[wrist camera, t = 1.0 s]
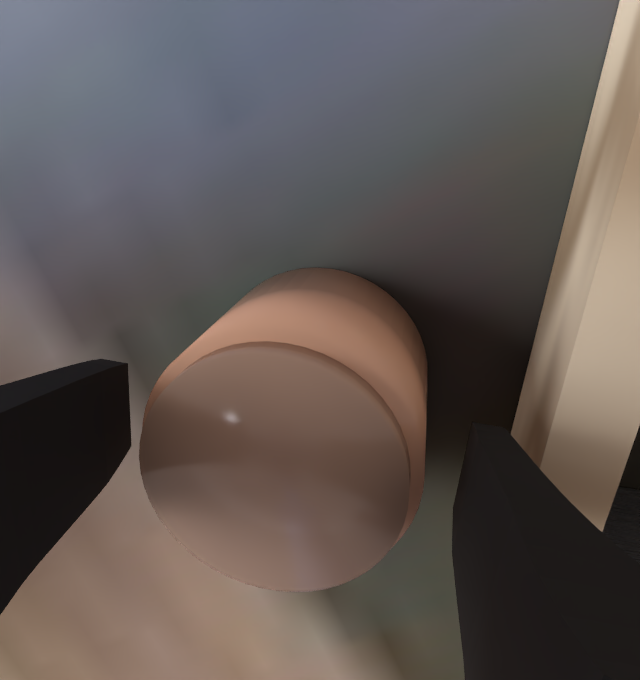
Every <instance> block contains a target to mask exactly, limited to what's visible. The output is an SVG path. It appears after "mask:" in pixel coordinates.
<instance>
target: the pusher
mask: <svg viewBox="0 0 640 680" xmlns="http://www.w3.org/2000/svg"><path fill="white" fill-rule="evenodd" d="M602 533H604V534H605V535H606V536H607V537H608V538H609V539H610V540H612V541H613V542H614V543H615V544H616V545H618V546H619V547H620V548H621V549H622V550H624V551H625V552H626V553H627V554H628V555H630V556H631V557H632V558H633V559H635V560H636V561H637V562H638V563H639V564H640V490H636V489H630V488H625V487H619V486H618V489H617V491H616V494H615V497H614V500H613V503H612V506H611V509H610V511H609V514H608V517H607V520H606V523H605V526H604V529H603V531H602Z"/></svg>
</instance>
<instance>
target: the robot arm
mask: <svg viewBox="0 0 640 680" xmlns="http://www.w3.org/2000/svg"><path fill="white" fill-rule="evenodd" d="M130 447H131V427H130V404H129V382H128V363H122V362H116V361H110V360H104V359H98V360H91V361H86V362H82V363H78V364H74V365H70V366H67V367H63V368H59V369H56V370H52V371H49V372H46V373H42V374H39V375H35V376H32V377H29V378H25V379H22V380H18V381H15V382H12V383H8V384H5V385H1V386H0V614H1V613H2V612H3V610H4V609H5V607H6V606H7V605H8V603H9V602H10V600H11V599H12V597H13V596H14V595H15V593H16V592H17V590H18V589H19V588H20V586H21V585H22V583H23V582H24V581H25V580H26V578H27V577H28V576H29V575H30V573H31V572H32V571H33V570H34V568H35V567H36V566H37V565H38V563H39V562H40V561H41V560H42V559H43V558H44V557H45V555H46V554H47V553H48V552H49V551H50V550H51V548H52V547H53V546H54V545H55V544H56V543H57V542H58V540H59V539H60V538H61V537H62V536H63V535H64V534H65V532H66V531H67V530H68V529H69V528H70V527H71V526H72V524H73V523H74V522H75V521H76V520H77V519H78V517H79V516H80V515H81V514H82V513H83V512H84V511H85V509H86V508H87V507H88V506H89V505H90V504H91V502H92V501H93V500H94V499H95V498H96V497H97V495H98V494H99V493H100V492H101V491H102V489H103V488H104V487H105V486H106V485H107V483H108V482H109V480H110V479H111V477H112V476H113V474H114V473H115V471H116V470H117V468H118V467H119V465H120V464H121V462H122V460H123V459H124V457H125V455H126V454H127V452H128V450H129V449H130ZM452 556H453V566H454V576H455V586H456V595H457V604H458V613H459V622H460V632H461V641H462V650H463V659H464V673H465V680H640V564H639V563H638V562H637V561H636V560H635V559H633V558H632V557H631V556H630V555H628V554H627V553H626V552H625V551H624V550H622V549H621V548H620V547H619V546H618V545H616V544H615V543H614V542H613V541H612V540H610V539H609V538H608V537H607V536H606V535H605V534H604V533H602V532H601V531H600V530H599V529H598V528H597V527H596V526H595V525H594V524H592V523H591V522H590V521H589V520H588V519H587V518H586V517H585V516H584V515H583V514H582V513H581V512H580V511H579V510H578V509H577V508H576V507H575V506H574V505H573V504H572V503H571V502H570V501H569V500H568V499H567V498H566V497H565V496H564V495H563V494H562V493H561V492H560V491H559V490H558V488H557V487H556V486H555V485H554V484H553V483H552V482H551V481H550V480H549V479H548V478H547V476H546V475H545V474H544V473H543V472H542V471H541V470H540V469H539V467H538V466H537V465H536V464H535V463H534V462H533V460H532V459H531V458H530V457H529V456H528V455H527V453H526V452H525V451H524V450H523V449H522V447H521V446H520V445H519V444H518V443H517V441H516V440H515V439H514V438H513V437H512V435H511V434H510V433H509V432H508V431H507V430H506V429H505V428H504V427H498V426H492V425H486V424H480V423H474V422H472V425H471V430H470V434H469V439H468V443H467V448H466V452H465V457H464V461H463V466H462V470H461V475H460V479H459V484H458V488H457V493H456V497H455V502H454V506H453V532H452Z"/></svg>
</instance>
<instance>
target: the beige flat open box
mask: <svg viewBox="0 0 640 680" xmlns="http://www.w3.org/2000/svg"><path fill="white" fill-rule="evenodd" d="M639 426H640V0H620V2H619V6H618V10H617V14H616V18H615V22H614V26H613V30H612V34H611V38H610V42H609V46H608V50H607V54H606V58H605V62H604V66H603V70H602V74H601V78H600V81H599V85H598V89H597V93H596V97H595V101H594V105H593V109H592V113H591V117H590V121H589V125H588V129H587V133H586V137H585V141H584V145H583V149H582V153H581V157H580V161H579V165H578V169H577V173H576V177H575V181H574V185H573V189H572V193H571V196H570V200H569V204H568V208H567V212H566V216H565V220H564V224H563V228H562V232H561V236H560V240H559V244H558V248H557V252H556V256H555V260H554V264H553V268H552V272H551V276H550V280H549V284H548V288H547V292H546V296H545V300H544V304H543V308H542V311H541V315H540V319H539V323H538V327H537V331H536V335H535V339H534V343H533V347H532V351H531V355H530V359H529V363H528V367H527V371H526V375H525V379H524V383H523V387H522V391H521V395H520V399H519V403H518V407H517V411H516V415H515V419H514V422H513V426H512V430H511V435H512V437H513V438H514V439H515V440H516V441H517V443H518V444H519V445H520V446H521V447H522V449H523V450H524V451H525V452H526V453H527V455H528V456H529V457H530V458H531V459H532V460H533V462H534V463H535V464H536V465H537V466H538V467H539V469H540V470H541V471H542V472H543V473H544V474H545V475H546V476H547V478H548V479H549V480H550V481H551V482H552V483H553V484H554V485H555V486H556V487H557V488H558V490H559V491H560V492H561V493H562V494H563V495H564V496H565V497H566V498H567V499H568V500H569V501H570V502H571V503H572V504H573V505H574V506H575V507H576V508H577V509H578V510H579V511H580V512H581V513H582V514H583V515H584V516H585V517H586V518H587V519H588V520H589V521H590V522H591V523H592V524H594V525H595V526H596V527H597V528H598V529H599V530H600V531H601V532H602V531H603V529H604V526H605V523H606V520H607V517H608V514H609V511H610V509H611V506H612V503H613V500H614V497H615V494H616V491H617V489H618V486H619V483H620V480H621V477H622V474H623V471H624V469H625V466H626V463H627V460H628V457H629V454H630V451H631V448H632V446H633V443H634V440H635V437H636V434H637V431H638V428H639Z"/></svg>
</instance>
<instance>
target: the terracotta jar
mask: <svg viewBox="0 0 640 680" xmlns="http://www.w3.org/2000/svg"><path fill="white" fill-rule="evenodd" d="M427 391H428V364H427V357H426V352H425V348H424V345H423V342H422V339H421V336H420V334H419V332H418V330H417V328H416V326H415V324H414V322H413V321H412V319H411V318H410V316H409V315H408V314H407V312H406V311H405V310H404V309H403V308H402V306H401V305H400V304H399V303H398V302H397V301H396V300H395V299H394V298H393V297H391V296H390V295H389V294H388V293H387V292H386V291H384V290H383V289H381V288H380V287H378V286H377V285H375V284H374V283H372V282H370V281H368V280H366V279H364V278H362V277H360V276H357V275H354V274H351V273H348V272H345V271H340V270H335V269H330V268H301V269H296V270H291V271H287V272H284V273H281V274H278V275H275V276H273V277H271V278H269V279H267V280H265V281H263V282H262V283H260V284H259V285H257V286H256V287H254V288H253V289H252V290H251V291H249V292H248V293H247V294H246V295H245V296H244V297H243V298H242V299H241V300H240V301H239V302H237V303H236V304H235V305H234V306H233V307H232V308H231V309H230V310H229V311H228V312H227V313H225V314H224V315H223V316H222V317H221V318H220V319H219V320H218V321H217V322H216V323H214V324H213V325H212V326H211V327H210V328H209V329H208V330H207V331H206V332H205V333H204V334H202V335H201V336H200V337H199V338H198V339H197V340H196V341H195V342H194V343H193V344H192V345H190V346H189V347H188V348H187V349H186V350H185V351H184V352H183V353H182V354H181V355H180V356H178V357H177V358H176V359H175V360H174V361H173V362H172V363H171V364H170V365H169V366H168V367H167V368H166V370H165V371H164V372H163V374H162V375H161V376H160V377H159V379H158V381H157V382H156V384H155V386H154V388H153V390H152V392H151V394H150V396H149V399H148V402H147V405H146V408H145V413H144V418H143V427H142V434H141V439H140V450H139V460H140V469H141V475H142V479H143V483H144V487H145V490H146V492H147V495H148V498H149V500H150V502H151V504H152V506H153V508H154V510H155V512H156V514H157V515H158V517H159V518H160V520H161V521H162V523H163V524H164V526H165V527H166V528H167V530H168V531H169V532H170V533H171V534H172V535H173V537H174V538H175V539H176V540H177V541H178V542H179V543H180V544H181V545H182V546H183V547H184V548H185V549H186V550H187V551H189V552H190V553H191V554H192V555H194V556H195V557H196V558H198V559H199V560H200V561H201V562H203V563H205V564H206V565H208V566H209V567H211V568H213V569H214V570H216V571H218V572H220V573H222V574H224V575H226V576H228V577H230V578H232V579H235V580H237V581H240V582H243V583H245V584H249V585H252V586H256V587H260V588H264V589H270V590H276V591H288V592H304V591H315V590H321V589H327V588H330V587H334V586H338V585H341V584H343V583H346V582H348V581H350V580H353V579H355V578H357V577H358V576H360V575H362V574H364V573H365V572H367V571H368V570H370V569H371V568H372V567H373V566H375V565H376V564H377V563H378V562H379V561H380V560H381V559H382V558H383V557H384V556H385V555H386V554H387V553H388V552H389V551H390V549H391V548H392V547H393V546H394V545H395V544H396V542H397V541H398V540H399V539H400V538H401V537H402V536H403V535H404V533H405V532H406V530H407V529H408V527H409V526H410V524H411V523H412V521H413V519H414V516H415V514H416V512H417V510H418V508H419V504H420V501H421V497H422V493H423V487H424V478H425V452H426V421H427Z"/></svg>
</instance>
